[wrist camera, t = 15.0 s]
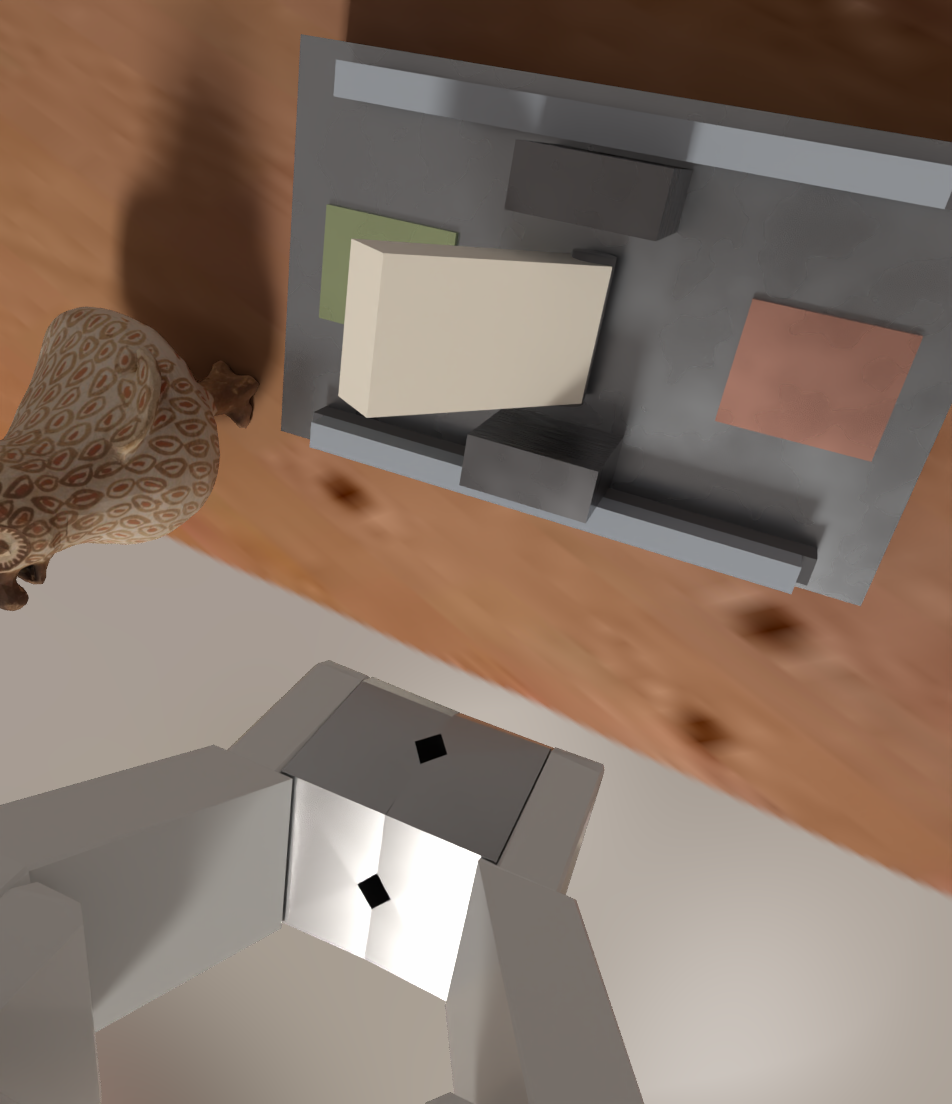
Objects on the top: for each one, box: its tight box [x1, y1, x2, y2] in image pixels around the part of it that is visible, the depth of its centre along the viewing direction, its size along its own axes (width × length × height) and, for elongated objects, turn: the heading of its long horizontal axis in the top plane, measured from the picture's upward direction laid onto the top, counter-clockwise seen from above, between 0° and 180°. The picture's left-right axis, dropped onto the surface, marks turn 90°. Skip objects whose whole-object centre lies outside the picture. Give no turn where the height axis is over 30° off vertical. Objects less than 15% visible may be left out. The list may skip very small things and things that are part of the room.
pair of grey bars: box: [310, 60, 952, 594], centre depth 27 cm, size 19×13×2 cm
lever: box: [338, 239, 617, 418], centre depth 25 cm, size 2×5×9 cm
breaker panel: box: [281, 34, 952, 606], centre depth 27 cm, size 23×14×7 cm, turn 80°
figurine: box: [0, 307, 259, 611], centre depth 32 cm, size 9×10×15 cm
